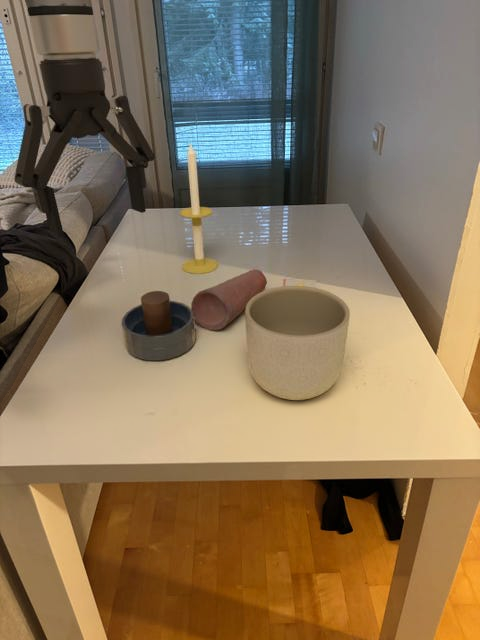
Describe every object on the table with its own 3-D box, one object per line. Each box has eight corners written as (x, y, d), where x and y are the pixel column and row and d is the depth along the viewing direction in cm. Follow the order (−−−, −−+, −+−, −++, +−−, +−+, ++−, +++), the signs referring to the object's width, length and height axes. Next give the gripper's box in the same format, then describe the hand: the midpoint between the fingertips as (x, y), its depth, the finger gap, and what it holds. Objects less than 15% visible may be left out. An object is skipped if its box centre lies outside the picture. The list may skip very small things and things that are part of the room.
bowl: (153, 372, 88) (149, 345, 85) (113, 343, 97) (108, 318, 93) (209, 341, 96) (207, 316, 93) (168, 317, 105) (165, 294, 102)
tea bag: (283, 315, 105) (284, 274, 99) (313, 317, 103) (316, 276, 98) (281, 323, 101) (282, 282, 96) (312, 326, 100) (315, 284, 95)
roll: (157, 350, 93) (151, 307, 88) (142, 340, 96) (135, 297, 91) (179, 339, 96) (174, 297, 91) (163, 329, 99) (158, 288, 94)
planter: (259, 349, 93) (258, 280, 85) (345, 361, 89) (353, 290, 81) (235, 404, 79) (232, 329, 72) (336, 421, 75) (345, 343, 67)
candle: (204, 255, 134) (195, 136, 118) (225, 266, 128) (219, 141, 111) (174, 265, 129) (161, 142, 112) (195, 277, 122) (184, 148, 105)
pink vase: (228, 336, 98) (227, 299, 93) (191, 325, 102) (187, 289, 97) (271, 292, 114) (271, 259, 109) (237, 285, 118) (235, 252, 113)
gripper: (137, 53, 68) (154, 197, 79) (-48, 61, 53) (5, 238, 64) (168, 53, 63) (182, 206, 74) (-25, 62, 48) (28, 252, 59)
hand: (100, 221), depth 69 cm, fingers open, 13 cm apart
